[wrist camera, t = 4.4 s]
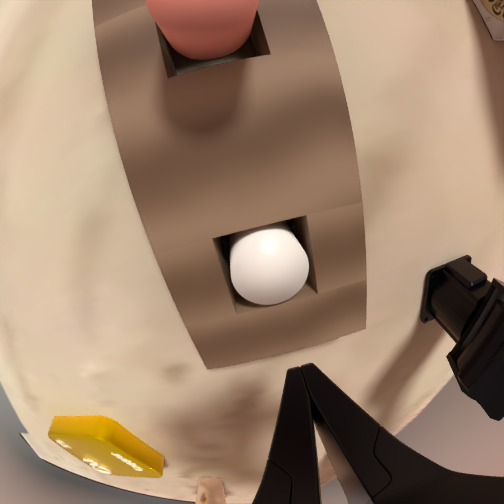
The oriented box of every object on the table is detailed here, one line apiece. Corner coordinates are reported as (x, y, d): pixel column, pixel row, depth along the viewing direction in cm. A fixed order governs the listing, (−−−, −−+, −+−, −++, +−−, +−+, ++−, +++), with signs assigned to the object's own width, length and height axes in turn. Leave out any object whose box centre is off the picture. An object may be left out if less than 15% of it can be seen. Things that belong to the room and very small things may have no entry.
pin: (296, 263, 20) (312, 293, 16) (238, 278, 20) (241, 312, 16) (286, 206, 18) (302, 226, 14) (221, 221, 18) (221, 246, 14)
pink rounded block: (260, 50, 11) (274, 19, 7) (174, 70, 11) (154, 45, 7) (241, -12, 9) (247, -53, 5) (160, 6, 9) (140, -30, 5)
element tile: (169, 457, 34) (167, 480, 29) (106, 456, 34) (102, 476, 30) (109, 412, 27) (101, 441, 23) (50, 414, 28) (42, 435, 24)
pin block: (346, 299, 22) (365, 328, 18) (208, 334, 22) (207, 369, 19) (275, -37, 10) (286, -65, 7) (112, 2, 11) (90, -19, 7)
